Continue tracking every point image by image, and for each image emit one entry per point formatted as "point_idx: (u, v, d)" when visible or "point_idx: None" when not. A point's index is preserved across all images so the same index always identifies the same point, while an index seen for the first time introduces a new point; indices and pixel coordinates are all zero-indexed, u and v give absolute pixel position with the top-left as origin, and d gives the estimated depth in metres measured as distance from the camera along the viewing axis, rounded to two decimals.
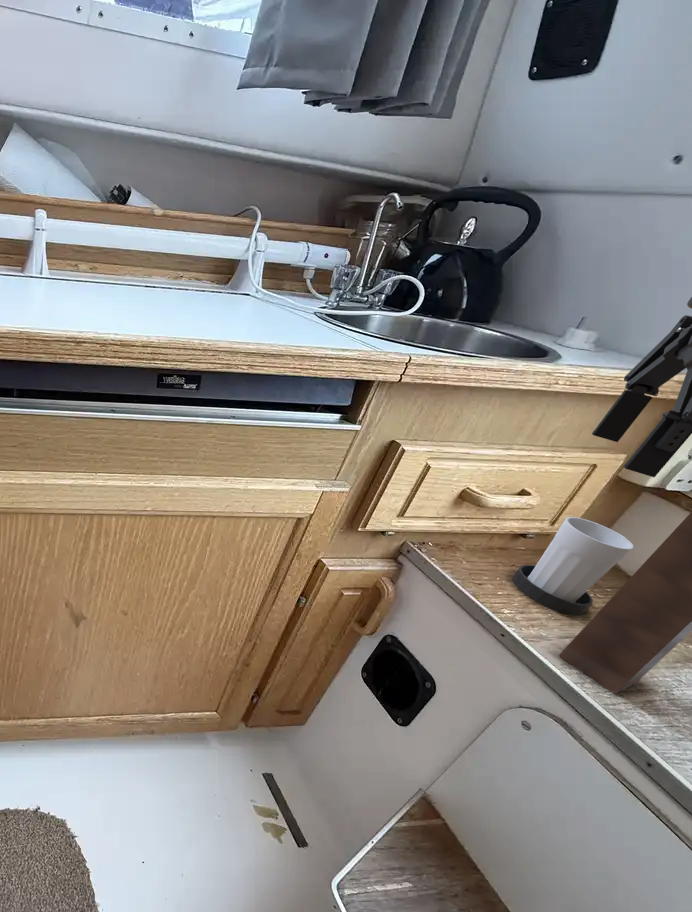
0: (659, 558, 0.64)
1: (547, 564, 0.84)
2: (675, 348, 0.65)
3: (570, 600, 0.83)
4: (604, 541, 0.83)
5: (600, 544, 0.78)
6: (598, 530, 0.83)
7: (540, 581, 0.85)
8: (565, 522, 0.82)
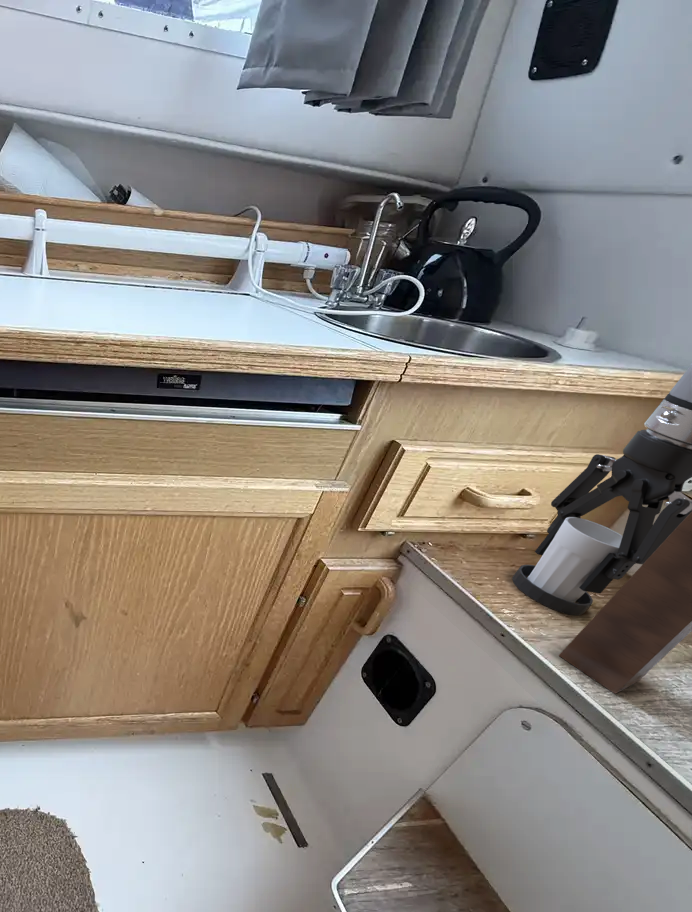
0: (659, 558, 0.64)
1: (547, 564, 0.84)
2: (612, 486, 0.78)
3: (570, 600, 0.83)
4: (604, 541, 0.83)
5: (600, 544, 0.78)
6: (598, 530, 0.83)
7: (540, 581, 0.85)
8: (565, 522, 0.82)
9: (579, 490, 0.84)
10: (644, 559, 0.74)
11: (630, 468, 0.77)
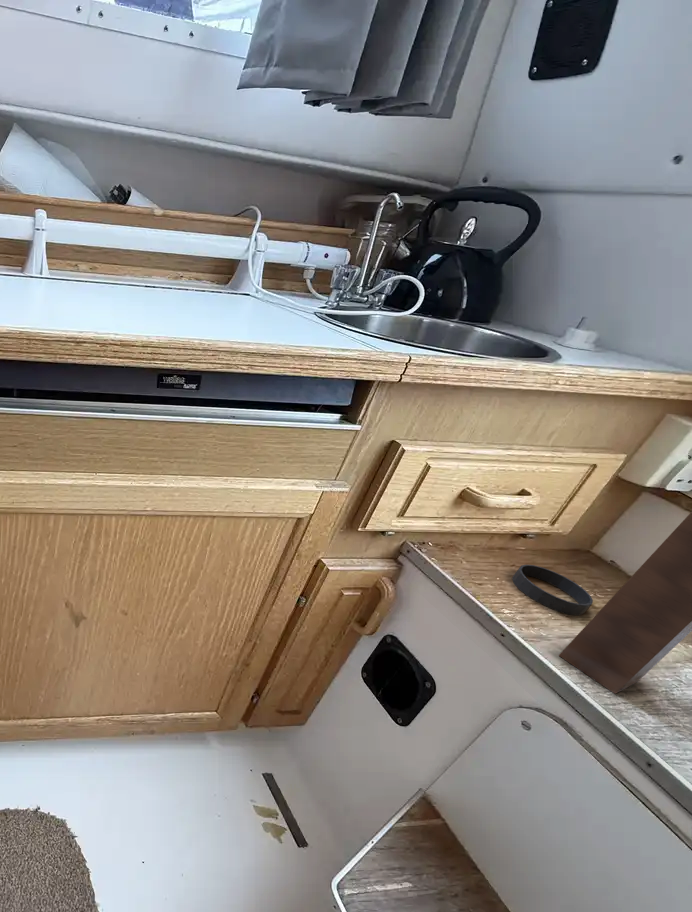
0: (659, 558, 0.64)
1: None
2: None
3: None
4: None
5: None
6: None
7: None
8: None
9: None
10: None
11: None
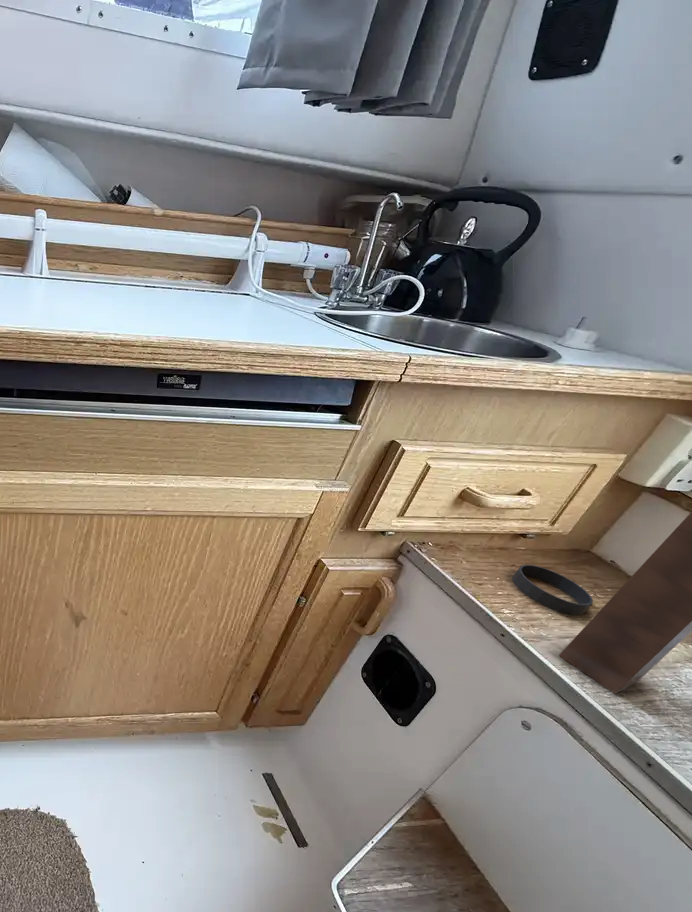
0: (659, 558, 0.64)
1: None
2: None
3: None
4: None
5: None
6: None
7: None
8: None
9: None
10: None
11: None
